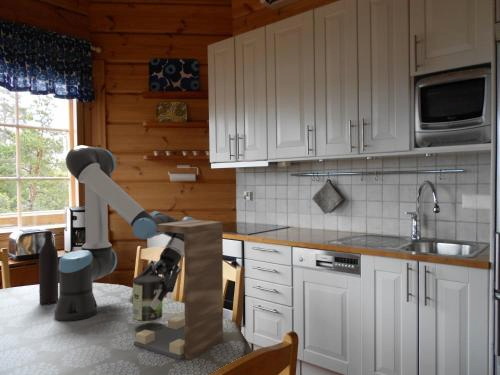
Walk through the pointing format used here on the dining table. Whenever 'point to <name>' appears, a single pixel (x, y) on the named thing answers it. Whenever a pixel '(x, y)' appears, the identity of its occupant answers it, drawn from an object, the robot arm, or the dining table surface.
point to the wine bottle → (48, 271)
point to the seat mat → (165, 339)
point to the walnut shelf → (201, 282)
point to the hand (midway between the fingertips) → (141, 305)
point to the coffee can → (146, 298)
